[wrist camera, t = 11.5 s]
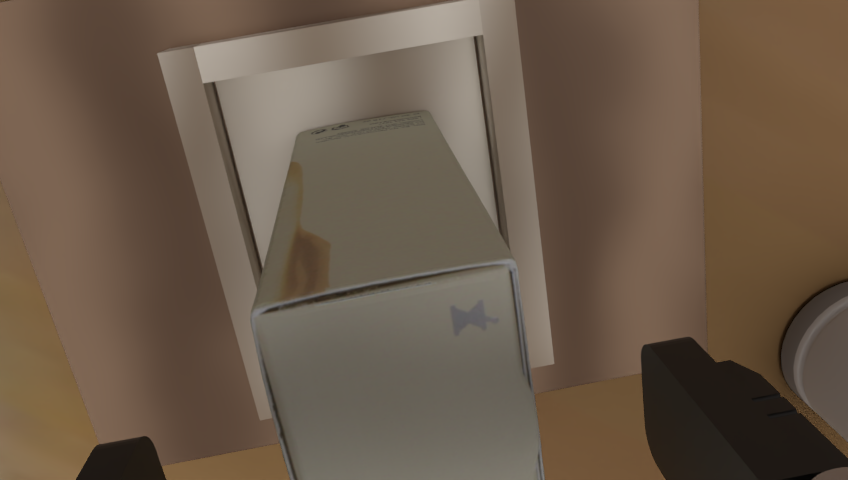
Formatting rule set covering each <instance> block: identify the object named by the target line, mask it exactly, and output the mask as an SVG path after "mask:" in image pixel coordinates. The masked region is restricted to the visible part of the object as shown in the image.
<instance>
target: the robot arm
mask: <svg viewBox="0 0 848 480" xmlns="http://www.w3.org/2000/svg"><path fill="white" fill-rule="evenodd" d="M641 370H642V386H643V402H644V417H645V429H646V435H647V440H648V444H649V447H650V450H651V453H652V456H653V458H654V460H655V463H656V464H657V466H658V468H659V469H660V471H661V473H662V474H663V476H664V477H665V479H666V480H848V458H847V457H846V456H845V455H844V454H843V453H842V452H840V451H839V450H838V449H837V448H836V447H835V446H834V445H833V444H832V443H831V442H830V441H829V440H828V439H827V438H826V437H825V436H824V435H823V434H822V433H821V432H820V431H819V430H818V429H816V428H815V427H814V426H813V425H812V424H811V423H810V422H809V421H808V420H807V419H806V418H805V417H804V416H803V415H802V414H801V413H799V414H798V413H797V411H796V408H795V407H794V406H793V405H791V404H790V403H789V402H788V401H787V400H786V399H785V398H784V397H780V393H779V392H778V391H777V390H776V389H775V388H774V387H773V386H772V385H771V384H770V383H769V382H767V381H766V380H765V379H764V378H763V377H762V376H761V375H760V374H758V373H756V372H754V371H752V370H750V369H748V368H746V367H744V366H741V365H739V364H737V363H735V362H733V361H731V360H728V361H723V362H718V363H716V362H715V361H714V360H713V359H712V358H711V357H710V356H709V354H708V353H707V352H706V351H705V350H704V349H703V348H702V347H701V346H700V345H699V344H698V343H697V342H696V341H695V340H694V339H693V338H691V337H683V338H677V339H672V340H666V341H661V342H656V343H650V344H645V345H643V347H642V350H641ZM76 480H166V478H165V475H164V472H163V469H162V466H161V463H160V460H159V457H158V454H157V451H156V448H155V446H154V444H153V442H152V441H151V439H150V438H149V437H147V436H142V437H136V438H131V439H125V440H120V441H115V442H109V443H104V444H99V445H97V446H96V447H95V448H94V449H93V450H92V452H91V454H90V456H89V457H88V459H87V461H86V463H85V464H84V466H83V468H82V470H81V471H80V473H79V475H78V477H77V478H76Z"/></svg>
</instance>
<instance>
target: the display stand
mask: <svg viewBox="0 0 848 480" xmlns="http://www.w3.org/2000/svg"><path fill="white" fill-rule="evenodd" d="M419 111H428V112H430V114H431V115H432V117H433V119H434V121H435V122H436V124H437V126H438V127H439V129H440V131H441V133H442V135H443V137H444V138H445V140H446V142H447V143H448V145H449V147H450V148H451V150H452V152H453V154H454V155H455V157H456V159H457V161H458V162H459V164H460V166H461V167H462V169H463V171H464V173H465V174H466V176H467V178H468V179H469V181H470V183H471V184H472V186H473V188H474V189H475V191H476V193H477V194H478V196H479V198H480V200H481V202H482V203H483V205H484V207H485V208H486V210H487V212H488V213H489V215H490V217H491V219H492V221H493V222H494V224H495V226H496V228H497V229H498V231H499V233H500V234H501V236H502V238H503V240H504V241H505V243H506V245H507V247H508V249H509V250H510V252H511V254H512V256H513V257H514V258H515V260H516V264H517V268H518V272H519V284H520V292H521V300H522V305H523V311H524V320H525V328H526V336H527V343H528V351H529V359H530V367H531V374H532V381H533V389H534V394H537V393H542V392H547V391H552V390H557V389H562V388H568V387H573V386H578V385H583V384H588V383H593V382H599V381H604V380H609V379H614V378H619V377H625V376H630V375H635V374H640V373H642V370H641V350H642V347H643V345H645V344H650V343H656V342H661V341H666V340H672V339H677V338H683V337H691V338H693V339H694V340H695V341H696V342H697V343H698V344H699V345H700V346H701V347H702V348H703V349H704V350H705V351H706V352H707V313H706V274H705V235H704V196H703V157H702V118H701V78H700V39H699V0H11V1H5V2H0V181H1V183H2V186H3V189H4V191H5V194H6V197H7V199H8V202H9V205H10V207H11V210H12V213H13V215H14V218H15V221H16V223H17V226H18V229H19V231H20V234H21V236H22V239H23V242H24V244H25V247H26V250H27V252H28V255H29V258H30V260H31V263H32V266H33V268H34V271H35V274H36V276H37V279H38V282H39V284H40V287H41V290H42V292H43V295H44V298H45V300H46V303H47V306H48V308H49V311H50V314H51V316H52V319H53V322H54V324H55V327H56V330H57V332H58V335H59V338H60V340H61V343H62V346H63V348H64V351H65V354H66V356H67V359H68V362H69V364H70V367H71V370H72V372H73V375H74V378H75V380H76V383H77V385H78V388H79V391H80V393H81V396H82V399H83V401H84V404H85V407H86V409H87V412H88V415H89V417H90V420H91V423H92V425H93V428H94V431H95V433H96V436H97V439H98V441H99V444H104V443H109V442H115V441H120V440H125V439H131V438H136V437H142V436H147V437H149V438H150V439H151V441H152V442H153V444H154V446H155V448H156V451H157V454H158V457H159V460H160V463H161V466H164V465H169V464H174V463H179V462H184V461H190V460H195V459H200V458H205V457H210V456H215V455H221V454H226V453H231V452H236V451H241V450H247V449H252V448H257V447H262V446H267V445H272V444H278V443H279V440H278V436H277V433H276V429H275V425H274V422H273V418H272V415H271V412H270V407H269V403H268V399H267V396H266V391H265V387H264V383H263V379H262V375H261V370H260V365H259V361H258V356H257V352H256V347H255V342H254V337H253V332H252V328H251V323H250V315H251V309H252V306H253V303H254V300H255V297H256V293H257V289H258V286H259V282H260V279H261V274H262V270H263V267H264V262H265V259H266V255H267V251H268V247H269V243H270V239H271V236H272V232H273V227H274V224H275V220H276V216H277V212H278V208H279V204H280V200H281V195H282V192H283V188H284V184H285V180H286V177H287V172H288V169H289V165H290V161H291V156H292V152H293V148H294V145H295V140H296V137H297V135H298V134H299V133H301V132H305V131H310V130H314V129H319V128H323V127H328V126H333V125H338V124H343V123H348V122H354V121H359V120H366V119H372V118H379V117H385V116H391V115H398V114H405V113H412V112H419ZM707 353H708V352H707Z"/></svg>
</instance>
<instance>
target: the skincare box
mask: <svg viewBox="0 0 848 480" xmlns="http://www.w3.org/2000/svg"><path fill="white" fill-rule="evenodd" d="M250 323H251V328H252V332H253V337H254V342H255V347H256V352H257V356H258V361H259V365H260V370H261V375H262V379H263V383H264V387H265V391H266V396H267V399H268V403H269V407H270V412H271V415H272V418H273V422H274V425H275V429H276V433H277V436H278V440H279V443H280V446H281V449H282V453H283V457H284V461H285V463H286V467H287V470H288V474H289V477H290V480H545V476H544V467H543V460H542V452H541V441H540V434H539V426H538V418H537V411H536V403H535V396H534V389H533V381H532V374H531V367H530V359H529V351H528V343H527V336H526V328H525V320H524V311H523V305H522V300H521V292H520V284H519V272H518V268H517V264H516V260H515V258H514V257H513V256H512V254H511V252H510V250H509V249H508V247H507V245H506V243H505V241H504V240H503V238H502V236H501V234H500V233H499V231H498V229H497V228H496V226H495V224H494V222H493V221H492V219H491V217H490V215H489V213H488V212H487V210H486V208H485V207H484V205H483V203H482V202H481V200H480V198H479V196H478V194H477V193H476V191H475V189H474V188H473V186H472V184H471V183H470V181H469V179H468V178H467V176H466V174H465V173H464V171H463V169H462V167H461V166H460V164H459V162H458V161H457V159H456V157H455V155H454V154H453V152H452V150H451V148H450V147H449V145H448V143H447V142H446V140H445V138H444V137H443V135H442V133H441V131H440V129H439V127H438V126H437V124H436V122H435V121H434V119H433V117H432V115H431V114H430V112H428V111H419V112H412V113H405V114H398V115H391V116H385V117H379V118H372V119H366V120H359V121H354V122H348V123H343V124H338V125H333V126H328V127H323V128H319V129H314V130H310V131H305V132H301V133H299V134H298V135H297V137H296V140H295V145H294V148H293V152H292V156H291V161H290V165H289V169H288V172H287V177H286V180H285V184H284V188H283V192H282V195H281V200H280V204H279V208H278V212H277V216H276V220H275V224H274V227H273V232H272V236H271V239H270V243H269V247H268V251H267V255H266V259H265V262H264V267H263V270H262V274H261V279H260V282H259V286H258V289H257V293H256V297H255V300H254V303H253V306H252V309H251V315H250Z"/></svg>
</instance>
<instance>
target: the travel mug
mask: <svg viewBox="0 0 848 480" xmlns="http://www.w3.org/2000/svg"><path fill="white" fill-rule="evenodd" d="M781 364H782V371H783V374H784V378H785V380H786V382H787V383H788V385H789V387H790V388H791V390H792V391H793V392H794V393H795V394H796V395H797V396H798V397H800V398H801V399H802V400H803V401H804V402H805V403H806V404H807V405H808V406H809V407H810V408H811V409H813V410H814V411H815V412H816V413H817V414H818V415H819V416H820V417H821V418H822V419H823V420H824V421H826V422H827V423H828V424H829V425H830V426H831V427H832V428H833V429H834V430H835V431H836V432H837V433H839V434H840V435H841V436H842V437H843V438H844V439H845V440H846V441H847V442H848V282H845V283H841V284H838V285H836V286H834V287H831V288H829V289H827V290H825V291H824V292H822V293H821V294H819V295H817V296H816V297H814V298H813V299H812V300H811V301H810V302H809V303H808V304H806V305H805V306H804V307H803V308H802V310H801V311H800V312H799V313H798V314H797V316H796V317H795V318H794V320H793V322H792V323H791V325H790V327H789V328H788V330H787V333H786V336H785V338H784V341H783V346H782V352H781Z"/></svg>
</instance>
